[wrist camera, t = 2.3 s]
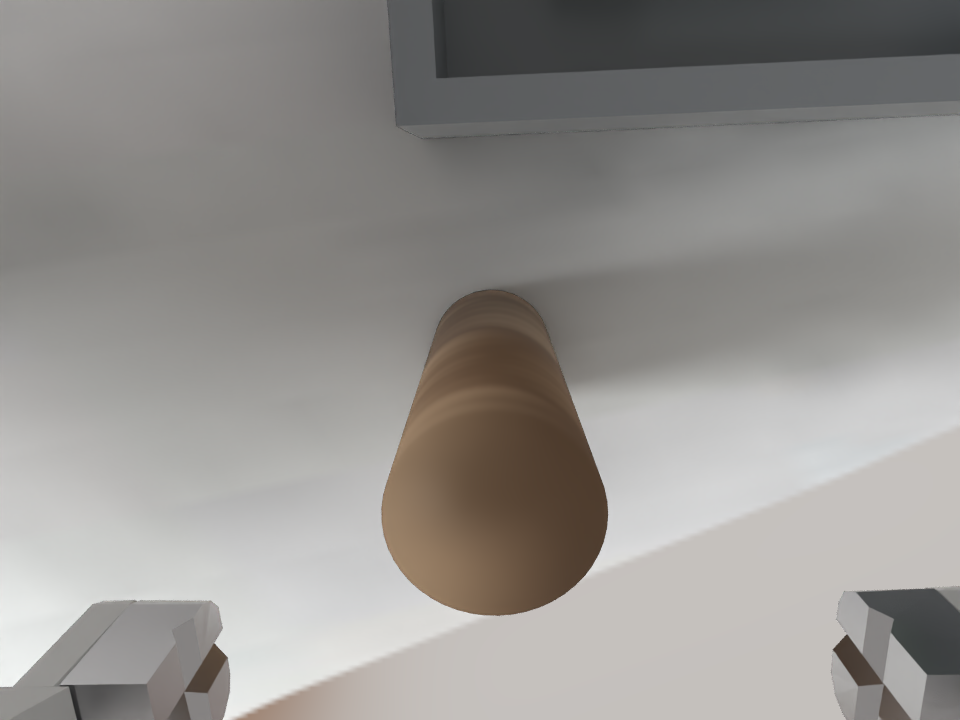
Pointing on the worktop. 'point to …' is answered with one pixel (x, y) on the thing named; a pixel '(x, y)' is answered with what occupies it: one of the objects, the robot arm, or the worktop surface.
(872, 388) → the worktop surface
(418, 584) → the peg
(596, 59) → the bore box
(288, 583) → the worktop surface
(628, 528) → the worktop surface
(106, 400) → the worktop surface
